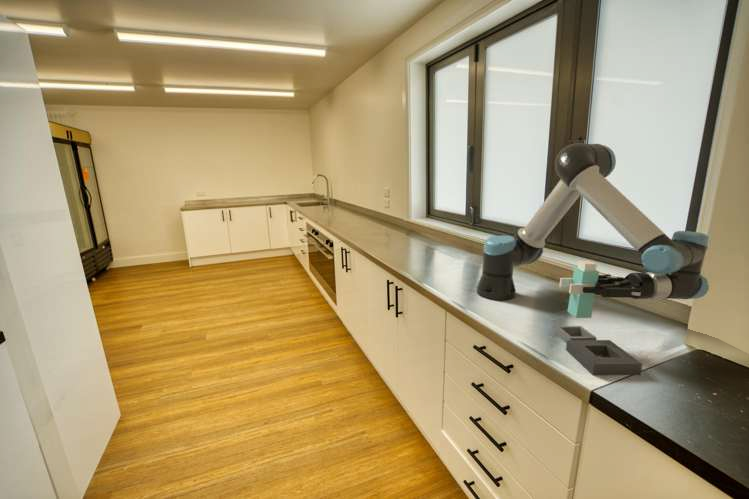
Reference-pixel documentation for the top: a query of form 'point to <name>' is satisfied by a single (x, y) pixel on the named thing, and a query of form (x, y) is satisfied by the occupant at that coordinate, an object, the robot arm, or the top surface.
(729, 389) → the top surface
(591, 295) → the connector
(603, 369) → the port block
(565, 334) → the grey square plate
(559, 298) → the top surface
